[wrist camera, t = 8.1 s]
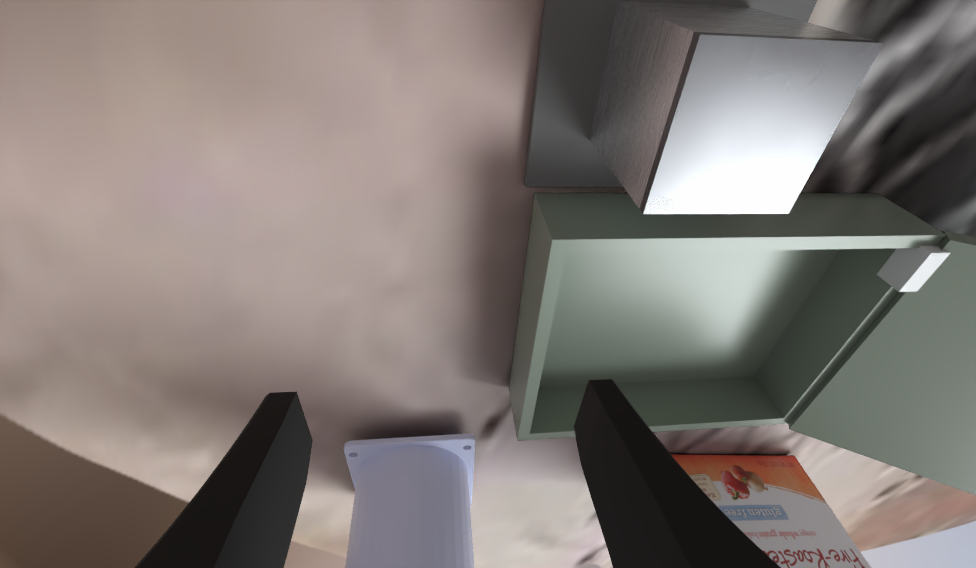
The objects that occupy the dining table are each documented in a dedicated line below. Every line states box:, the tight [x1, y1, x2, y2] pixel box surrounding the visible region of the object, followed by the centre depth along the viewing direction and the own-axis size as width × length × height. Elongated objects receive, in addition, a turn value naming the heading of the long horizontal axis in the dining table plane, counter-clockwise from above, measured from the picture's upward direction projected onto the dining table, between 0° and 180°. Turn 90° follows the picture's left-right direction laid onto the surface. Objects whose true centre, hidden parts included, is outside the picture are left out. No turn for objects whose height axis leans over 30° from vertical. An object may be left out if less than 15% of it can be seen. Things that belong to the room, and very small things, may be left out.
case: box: [509, 193, 976, 495], centre depth 20 cm, size 13×29×11 cm, turn 87°
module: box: [590, 0, 883, 214], centre depth 13 cm, size 4×4×6 cm
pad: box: [524, 0, 817, 187], centre depth 15 cm, size 9×9×1 cm
